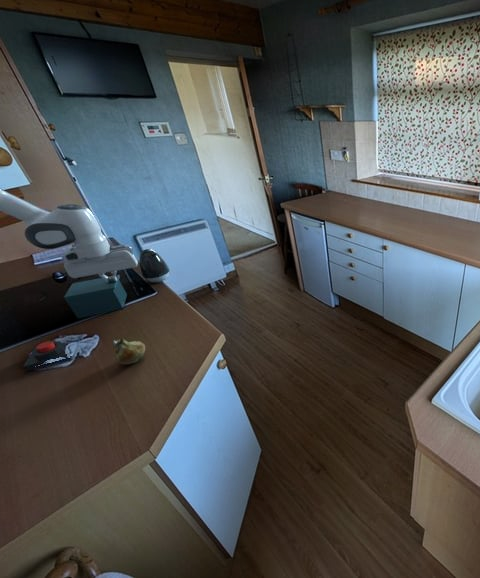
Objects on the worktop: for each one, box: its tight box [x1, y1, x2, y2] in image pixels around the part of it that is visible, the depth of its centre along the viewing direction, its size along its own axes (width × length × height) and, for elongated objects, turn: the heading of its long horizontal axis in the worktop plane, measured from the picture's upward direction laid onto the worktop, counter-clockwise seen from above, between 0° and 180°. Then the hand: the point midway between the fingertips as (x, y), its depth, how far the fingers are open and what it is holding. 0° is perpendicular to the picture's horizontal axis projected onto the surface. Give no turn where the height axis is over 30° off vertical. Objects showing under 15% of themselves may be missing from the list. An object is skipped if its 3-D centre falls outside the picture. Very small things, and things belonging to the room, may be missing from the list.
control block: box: [22, 339, 75, 372], centre depth 92 cm, size 10×8×4 cm
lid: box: [63, 274, 121, 300], centre depth 112 cm, size 14×12×1 cm
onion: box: [112, 338, 146, 366], centre depth 90 cm, size 8×8×8 cm
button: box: [35, 340, 56, 353], centre depth 90 cm, size 4×4×2 cm
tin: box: [64, 279, 128, 320], centre depth 115 cm, size 14×12×9 cm
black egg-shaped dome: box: [139, 248, 170, 283], centre depth 132 cm, size 10×10×15 cm
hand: (112, 281), depth 115 cm, fingers closed, pressing on lid
